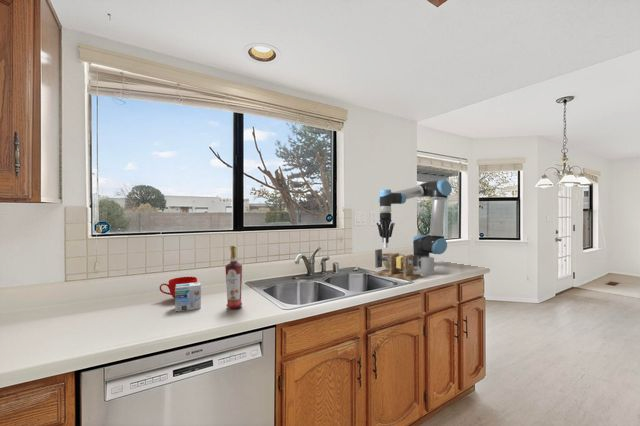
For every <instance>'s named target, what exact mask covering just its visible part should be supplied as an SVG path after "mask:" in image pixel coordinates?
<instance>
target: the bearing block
mask: <svg viewBox="0 0 640 426" xmlns="http://www.w3.org/2000/svg"><path fill="white" fill-rule="evenodd" d="M399 254H400V253H399V252H397V253H395V254H391V255H389V270H387V269H386V268H385V269H382V270H378V271H375V272H373V275H374V276H380V277H387V278H391V279H399V280H404V279H405V280H404V281H410V280H411V281H413V280H416V279H418V278H421V277H422V274H421V273H415V272H414V266H413V264H408V260H413V255H414V254H407V255H405V256H403V268H402V269H403V271H400V270H399V268H396V262H395V263H394V257H395V258H396V257H399Z"/></svg>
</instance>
